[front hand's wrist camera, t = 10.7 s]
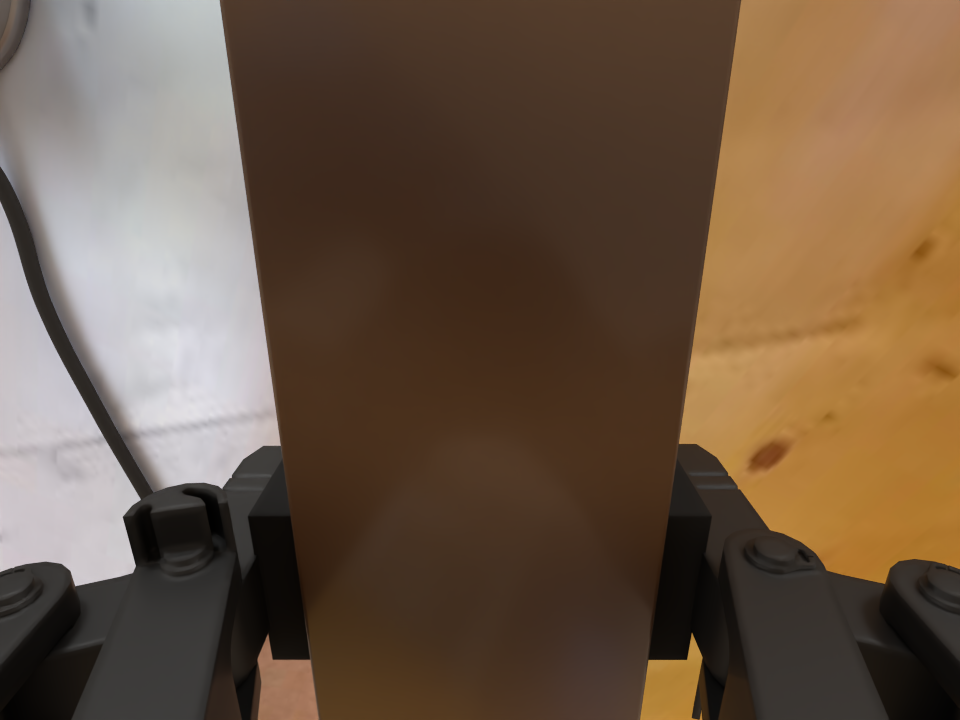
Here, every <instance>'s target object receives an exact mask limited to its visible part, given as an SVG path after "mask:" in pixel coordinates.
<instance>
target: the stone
mask: <svg viewBox="0 0 960 720" xmlns="http://www.w3.org/2000/svg"><path fill="white" fill-rule="evenodd" d="M258 664H259V669H260V676H261V682H262V683H261V692H260V702H259V712H258V720H319V719H318V712H317V705H316V697H315V690H314V683H313V676H312V668H311V661H310V660H273V659H272V653H271V647H270V642H269V636H268V635H267V638H266V640H265V642H264V645H263V647H262V650H261V652H260V654H259V657H258Z"/></svg>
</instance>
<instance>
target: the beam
mask: <svg viewBox="0 0 960 720" xmlns="http://www.w3.org/2000/svg"><path fill="white" fill-rule="evenodd" d="M740 4H741V0H220V6H221V13H222V20H223V28H224V35H225V42H226V49H227V57H228V64H229V71H230V79H231V86H232V93H233V100H234V108H235V115H236V122H237V130H238V137H239V144H240V151H241V159H242V166H243V173H244V181H245V188H246V195H247V202H248V210H249V217H250V224H251V231H252V239H253V246H254V253H255V261H256V268H257V275H258V282H259V290H260V297H261V304H262V312H263V319H264V326H265V333H266V341H267V348H268V355H269V363H270V370H271V377H272V384H273V392H274V399H275V406H276V414H277V421H278V428H279V435H280V443H281V450H282V457H283V464H284V472H285V479H286V486H287V494H288V501H289V508H290V515H291V523H292V530H293V537H294V545H295V552H296V559H297V566H298V574H299V581H300V588H301V596H302V603H303V610H304V617H305V625H306V632H307V639H308V646H309V654H310V661H311V668H312V676H313V683H314V690H315V697H316V705H317V712H318V719H319V720H640V716H641V708H642V701H643V694H644V687H645V680H646V673H647V666H648V659H649V652H650V644H651V637H652V630H653V623H654V616H655V609H656V602H657V595H658V588H659V580H660V573H661V566H662V559H663V552H664V545H665V538H666V531H667V524H668V516H669V509H670V502H671V495H672V488H673V481H674V474H675V467H676V460H677V452H678V445H679V438H680V431H681V424H682V417H683V410H684V403H685V396H686V388H687V381H688V374H689V367H690V360H691V353H692V346H693V339H694V332H695V324H696V317H697V310H698V303H699V296H700V289H701V282H702V275H703V268H704V260H705V253H706V246H707V239H708V232H709V225H710V218H711V211H712V204H713V196H714V189H715V182H716V175H717V168H718V161H719V154H720V147H721V140H722V132H723V125H724V118H725V111H726V104H727V97H728V90H729V83H730V76H731V68H732V61H733V54H734V47H735V40H736V33H737V26H738V19H739V12H740Z"/></svg>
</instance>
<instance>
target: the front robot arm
mask: <svg viewBox="0 0 960 720" xmlns="http://www.w3.org/2000/svg"><path fill="white" fill-rule="evenodd" d="M29 8H30V0H0V70H1V69H2V68H3V67H4V66H5V65H6V63H7V62H8V61H9V60H10V58H11V57H12V55H13V54H14V53H15V51H16V49H17V47H18V45H19V43H20V41H21V39H22V36H23V34H24V31H25V27H26V24H27V20H28V14H29ZM0 202H1V204H2V206H3V209H4V211H5V213H6V216H7V218H8V221H9V224H10V226H11V229H12V232H13V235H14V239H15V242H16V245H17V249H18V252H19V256H20V259H21V263H22V266H23V270H24V273H25V277H26V280H27V283H28V286H29V289H30V292H31V294H32V297H33V300H34V302H35V305H36V307H37V310H38V312H39V314H40V317H41V319H42V321H43V323H44V325H45V328H46V330H47V332H48V334H49V336H50V338H51V340H52V342H53V344H54V346H55V348H56V350H57V352H58V354H59V356H60V358H61V360H62V362H63V364H64V365H65V367H66V369H67V371H68V373H69V375H70V376H71V378H72V380H73V382H74V384H75V385H76V387H77V389H78V391H79V393H80V394H81V396H82V398H83V400H84V402H85V403H86V405H87V407H88V409H89V411H90V413H91V414H92V416H93V418H94V420H95V422H96V423H97V425H98V427H99V429H100V430H101V432H102V434H103V436H104V437H105V439H106V441H107V443H108V444H109V446H110V448H111V450H112V451H113V453H114V455H115V456H116V458H117V460H118V461H119V463H120V465H121V467H122V468H123V470H124V472H125V473H126V475H127V477H128V478H129V480H130V482H131V483H132V485H133V487H134V488H135V490H136V492H137V493H138V495H139V497H140V498H141V500H140V501H139V502H137V503H136V504H134V505H133V506H132V507H131V508H130V509H129V510H128V512H127V513H126V514H125V515H124V516H123V519H124V523H125V527H126V530H127V534H128V538H129V542H130V545H131V549H132V553H133V556H134V560H135V564H136V568H135V570H134V572H133V573H132V574H128V575H125V576H121V577H117V578H112V579H108V580H103V581H99V582H94V583H89V584H85V585H80V586H75V584H74V581H73V578H72V575H71V572H70V570H68V569H67V568H66V567H65V566H63V565H62V564H58V563H51V562H40V563H32V564H25V565H21V566H17V567H15V568H10V569H8V570H5V571H2V572H0V720H258V712H259V702H260V692H261V683H262V682H261V676H260V669H259V664H258V657H259V654H260V652H261V650H262V647H263V645H264V642H265V640H266V638H267V635H268V636H269V642H270V647H271V653H272V659H273V660H310V654H309V646H308V639H307V632H306V625H305V617H304V610H303V603H302V596H301V588H300V581H299V574H298V566H297V559H296V552H295V545H294V537H293V530H292V523H291V515H290V508H289V501H288V494H287V486H286V479H285V472H284V464H283V457H282V450H281V446H263V447H261V448H260V449H258V450H257V451H255V452H254V453H252V454H251V455H249V456H248V457H246V458H245V459H243V461H242V462H241V464H240V465H239V466H238V468H237V469H236V470H235V472H234V473H233V474H232V478H230V479H229V480H228V481H227V483H226V484H225V485H224V487H223V490H222V489H221V488H220V487H218V486H215V485H211V484H207V483H186V484H181V485H177V486H172V487H168V488H165V489H162V490H160V491H158V492H155V493H153V491H152V490H151V488H150V486H149V484H148V483H147V481H146V479H145V478H144V476H143V474H142V472H141V471H140V469H139V467H138V466H137V464H136V462H135V460H134V459H133V457H132V455H131V454H130V452H129V450H128V448H127V447H126V445H125V443H124V441H123V440H122V438H121V436H120V434H119V433H118V431H117V429H116V427H115V425H114V424H113V422H112V420H111V418H110V416H109V415H108V413H107V411H106V409H105V407H104V405H103V403H102V402H101V400H100V398H99V396H98V394H97V392H96V390H95V389H94V387H93V385H92V383H91V381H90V379H89V378H88V376H87V374H86V372H85V370H84V368H83V366H82V365H81V363H80V361H79V359H78V357H77V355H76V353H75V351H74V349H73V347H72V345H71V343H70V341H69V339H68V337H67V335H66V333H65V331H64V329H63V327H62V324H61V322H60V320H59V318H58V315H57V313H56V311H55V308H54V306H53V303H52V301H51V298H50V296H49V293H48V290H47V287H46V284H45V281H44V278H43V275H42V271H41V268H40V264H39V261H38V257H37V253H36V250H35V246H34V242H33V239H32V236H31V232H30V229H29V226H28V223H27V220H26V218H25V215H24V212H23V210H22V207H21V205H20V203H19V200H18V198H17V196H16V194H15V192H14V190H13V188H12V186H11V184H10V182H9V180H8V178H7V177H6V175H5V173H4V172H3V170H2V169H1V167H0ZM737 487H738V486H737V485H736V483H735V482H734V481H733V479H732V478H731V477H730V476H728V472H727V471H726V470H725V468H724V467H723V466H722V464H721V463H720V462H719V460H718V459H717V458H716V457H715V456H713V455H712V454H710V453H709V452H707V451H706V450H704V449H703V448H701V447H700V446H698V445H697V444H679V445H678V452H677V460H676V467H675V474H674V481H673V488H672V495H671V502H670V509H669V516H668V524H667V531H666V538H665V545H664V552H663V559H662V566H661V573H660V580H659V588H658V595H657V602H656V609H655V616H654V623H653V630H652V637H651V644H650V652H649V659H648V660H687V657H688V651H689V645H690V640H691V634H692V633H693V636H694V638H695V640H696V643H697V645H698V647H699V650H700V652H701V654H702V657H703V659H702V664H701V669H700V675H699V680H698V685H697V691H696V696H695V701H694V707H693V714H692V718H694V719H698V720H700V714H701V710H702V720H960V569H957V568H955V567H952V566H947V565H946V564H942V563H938V562H933V561H925V560H918V559H912V560H905V561H899V562H898V563H896V564H895V565H894V566H892V567H891V568H890V570H889V574H888V577H887V580H886V583H885V584H883V583H878V582H873V581H868V580H864V579H859V578H854V577H850V576H845V575H840V574H837V573H833V572H830V571H826V569H825V566H824V565H823V563H822V562H821V560H820V559H819V558H818V556H817V555H816V553H814V552H813V551H812V550H811V549H809V548H808V547H807V546H805V545H804V544H803V543H801V542H800V541H797V540H795V539H793V538H791V537H789V536H787V535H785V534H782V533H778V532H774V531H770V530H769V528H768V527H767V526H766V524H765V523H764V522H763V520H762V519H761V517H760V516H759V515H758V513H757V512H756V511H755V509H754V508H753V507H752V505H751V504H750V502H749V501H748V500H747V498H746V497H745V496H744V494H743V493H742V492H741V490H740V489H738V488H737Z"/></svg>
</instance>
